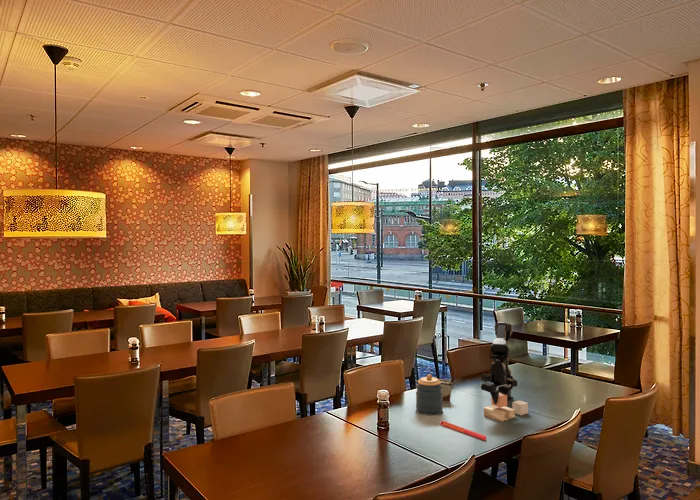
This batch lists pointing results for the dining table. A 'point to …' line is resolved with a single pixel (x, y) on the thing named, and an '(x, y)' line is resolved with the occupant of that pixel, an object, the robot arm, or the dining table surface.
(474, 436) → the chopstick
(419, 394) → the canister
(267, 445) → the dining table surface
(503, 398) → the terracotta cube
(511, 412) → the birch base block
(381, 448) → the dining table surface
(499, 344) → the robot arm
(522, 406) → the beige cube
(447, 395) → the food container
